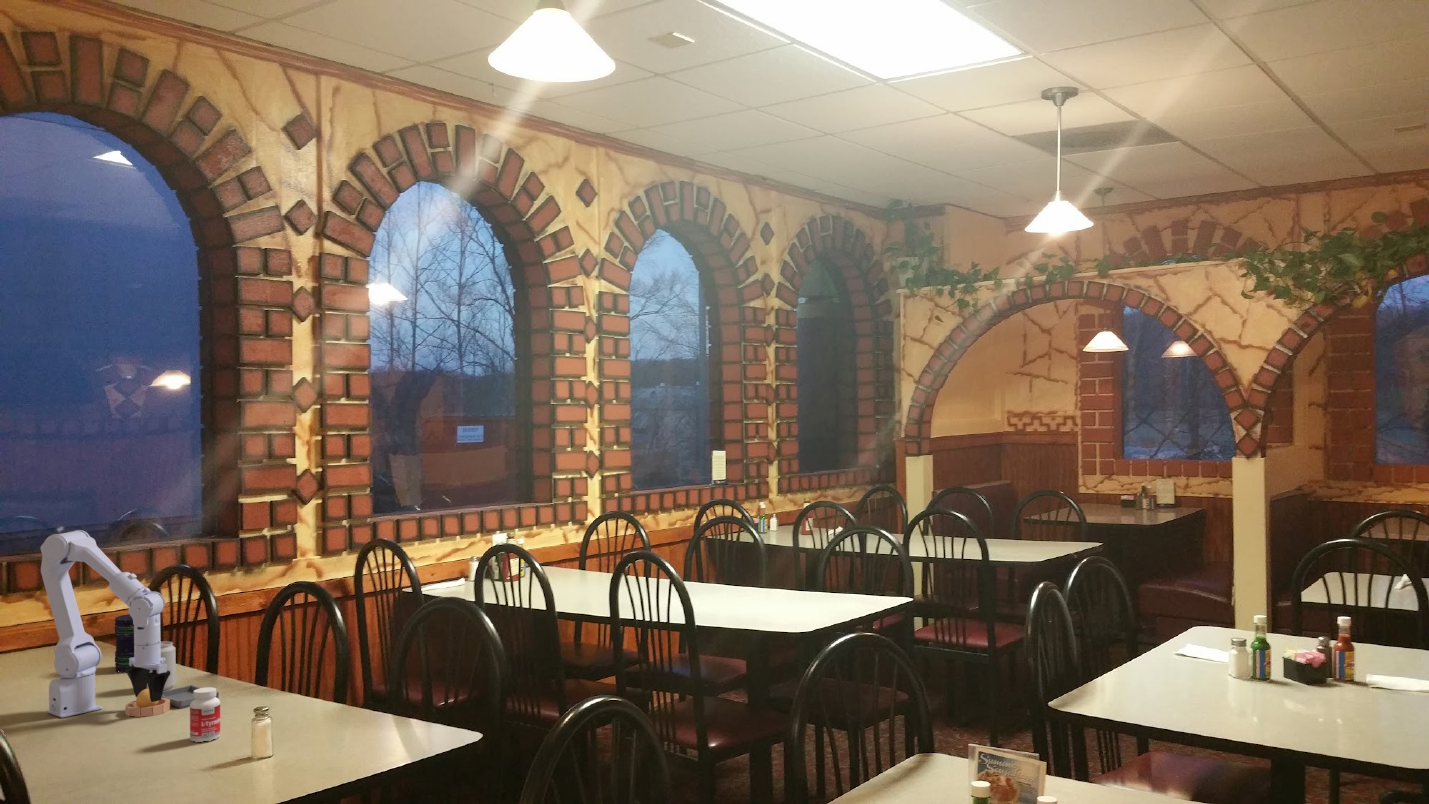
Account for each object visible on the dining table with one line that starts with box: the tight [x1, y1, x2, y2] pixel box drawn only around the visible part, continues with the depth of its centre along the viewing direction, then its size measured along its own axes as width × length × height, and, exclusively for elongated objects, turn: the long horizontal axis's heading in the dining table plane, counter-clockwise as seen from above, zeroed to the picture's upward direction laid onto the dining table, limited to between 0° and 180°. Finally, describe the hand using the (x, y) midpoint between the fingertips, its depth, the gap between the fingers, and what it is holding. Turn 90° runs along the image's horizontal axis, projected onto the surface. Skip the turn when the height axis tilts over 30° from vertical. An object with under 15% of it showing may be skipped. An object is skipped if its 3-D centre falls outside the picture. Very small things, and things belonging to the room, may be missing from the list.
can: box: [147, 641, 177, 691], centre depth 285 cm, size 8×8×12 cm
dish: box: [124, 698, 171, 718], centre depth 263 cm, size 10×10×2 cm
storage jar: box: [114, 613, 134, 672], centre depth 306 cm, size 10×10×15 cm
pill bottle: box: [189, 686, 221, 743], centre depth 241 cm, size 6×6×11 cm
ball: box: [135, 689, 159, 708], centre depth 263 cm, size 5×5×5 cm
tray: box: [161, 684, 220, 710], centre depth 273 cm, size 10×13×2 cm
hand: (148, 698), depth 263 cm, fingers open, 7 cm apart
